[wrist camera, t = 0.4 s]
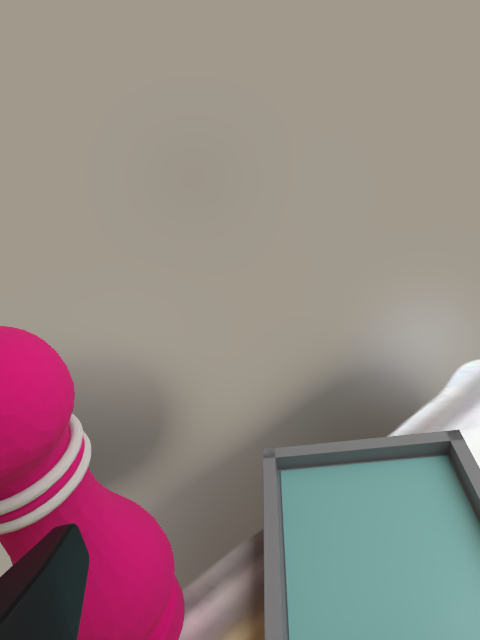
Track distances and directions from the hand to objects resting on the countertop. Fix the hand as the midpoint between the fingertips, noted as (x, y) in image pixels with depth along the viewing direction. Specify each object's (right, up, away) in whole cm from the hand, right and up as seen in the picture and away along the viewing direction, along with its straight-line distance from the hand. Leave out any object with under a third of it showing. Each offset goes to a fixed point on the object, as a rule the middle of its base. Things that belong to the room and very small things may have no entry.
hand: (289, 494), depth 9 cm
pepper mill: (-7, -13, +14) cm, 20 cm away
